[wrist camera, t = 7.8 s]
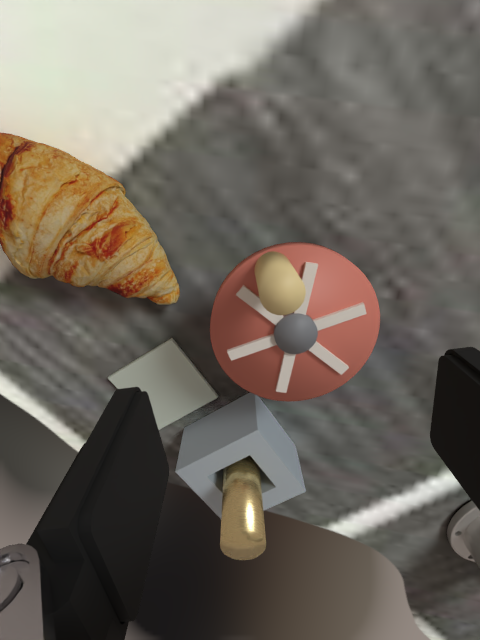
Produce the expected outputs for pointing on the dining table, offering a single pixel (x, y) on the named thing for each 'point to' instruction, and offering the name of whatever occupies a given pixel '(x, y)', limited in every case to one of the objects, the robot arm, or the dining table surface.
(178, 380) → the sage mat
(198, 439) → the eye block
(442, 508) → the dining table surface
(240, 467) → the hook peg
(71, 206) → the croissant
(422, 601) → the dining table surface
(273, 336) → the handwheel
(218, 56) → the dining table surface
